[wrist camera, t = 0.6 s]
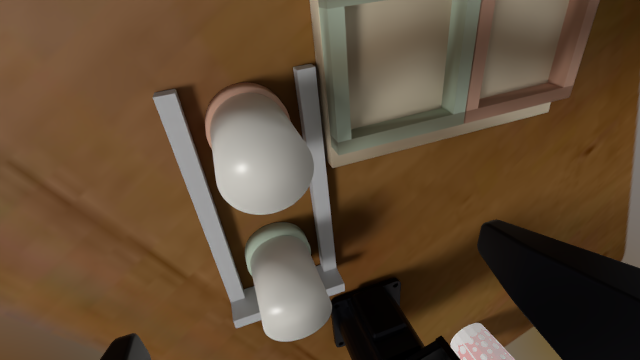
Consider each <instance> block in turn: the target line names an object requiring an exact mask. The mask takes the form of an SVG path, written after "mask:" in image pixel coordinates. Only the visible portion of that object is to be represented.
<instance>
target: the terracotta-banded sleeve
mask: <svg viewBox="0 0 640 360" xmlns="http://www.w3.org/2000/svg"><path fill="white" fill-rule="evenodd" d="M205 128H206V136H207V140H208V143H209V145H210V147H211V149H212V152H213V161H214V169H215V177H216V183H217V187H218V189H219V192H220V193H221V195H222V197H223V198H224V199H225V200H226V201H227V202H228V203H229V204H230V205H231V206H233V207H234V208H236V209H238V210H240V211H242V212H245V213H249V214H257V215H264V214H271V213H276V212H279V211H281V210H284V209H286V208H288V207H289V206H291V205H293V204H294V203H295V202H297V201H298V200H299V199H300V198H301V197H302V196H303V195H304V193H305V192H306V190H307V189H308V187H309V185H310V183H311V181H312V177H313V173H314V161H313V157H312V154H311V151H310V150H309V148H308V146H307V145H306V143H305V142H304V140H303V139H302V137H301V136H300V135H299V133H298V132H297V130H296V129H295V127H294V126H293V125H292V123H291V121H290V117H289V114H288V112H287V110H286V108H285V106H284V105H283V104H282V102H281V101H280V100H279V98H278V97H277V96H276V95H275V94H274V93H273V92H272V91H271V90H269V89H268V88H266V87H264V86H262V85H259V84H255V83H249V82H243V83H236V84H232V85H230V86H227V87H226V88H224V89H222V90H221V91H219V92H218V93H217V94H216V95H215V96H214V97H213V99H212V100H211V101H210V103H209V105H208V108H207V110H206V115H205Z"/></svg>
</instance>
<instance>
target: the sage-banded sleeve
mask: <svg viewBox="0 0 640 360" xmlns="http://www.w3.org/2000/svg"><path fill="white" fill-rule="evenodd" d="M245 258H246V263H247V268H248V271H249V273H250V274H251V275H252V276H253V281H254V286H255V291H256V296H257V300H258V305H259V310H260V315H261V320H262V324H263V329H264V332H265V333H266V335H267V336H268V337H270V338H271V339H274V340H277V341H294V340H299V339H302V338H304V337H307V336H309V335H311V334H313V333H314V332H316V331H317V330H319V329H320V328H321V327H322V326H323V325H324V324H325V323H326V322H327V320H328V319H329V317H330V315H331V312H332V303H331V301H330V298H329V296H328V294H327V292H326V289H325V287H324V285H323V282H322V280H321V278H320V275H319V273H318V271H317V269H316V266H315V264H314V262H313V259H312V257H311V248H310V245H309V243H308V241H307V238H306V236H305V234H304V232H303V231H302V230H301V229H300V228H299V227H298V226H296V225H294V224H292V223H288V222H276V223H271V224H268V225H265V226H263V227H261V228H260V229H258V230H257V231H255V232H254V233H253V234H252V235H251V237H250V238H249V239H248V241H247V243H246V246H245Z"/></svg>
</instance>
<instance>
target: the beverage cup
mask: <svg viewBox="0 0 640 360" xmlns="http://www.w3.org/2000/svg"><path fill="white" fill-rule="evenodd" d="M450 344H451V348H452V349H453V351H454V352H455V353H456V354H457V356H458V357H459V358H460V359H461V360H515V359H514V358H513V357H512V356H511V355H510V354H509V353H508V352H507V351H506V349H505V348H504V347H503V346H502V345H501V344H500V343H499V342H498V341H497V340H496V339H495V338H494V337H493V336H492V335H491V334H490V332H489V331H488V330H487V329H486V328H485V327H484V326H483V325H482V324H481V323H474V324H471V325H468V326H466V327H465V328H463V329H462V330H460V331H459V332H458V333H457V334H456V335H455V336H454V337H453V339H452V341H451V343H450Z"/></svg>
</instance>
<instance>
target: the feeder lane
mask: <svg viewBox="0 0 640 360" xmlns="http://www.w3.org/2000/svg"><path fill="white" fill-rule="evenodd" d="M293 71H294V78H295V85H296V92H297V100H298V107H299V114H300V121H301V128H302V135H303V140H304V142H305V143H306V145H307V146H308V148H309V150H310V151H311V154H312V157H313V161H314V173H313V177H312V181H311V183H310V192H311V199H312V206H313V213H314V220H315V228H316V235H317V242H318V249H319V256H320V263H321V265H318V266H316V269H317V271H318V273H319V275H320V278H321V280H322V282H323V285H324V287H325V289H326V292H327V294H328V296H331V295H334V294H337V293H340V292H343V291H345V285H344V282H343V280H342V278H341V276H340V274H339V272H338V270H337V268H336V259H335V249H334V240H333V230H332V221H331V211H330V202H329V192H328V183H327V173H326V164H325V154H324V144H323V135H322V125H321V116H320V106H319V97H318V87H317V78H316V68H315V66H313V65H312V64H306V65H301V66H296V67H293ZM153 99H154V102H155V105H156V107H157V110H158V112H159V115H160V118H161V120H162V123H163V126H164V128H165V131H166V133H167V136H168V139H169V141H170V144H171V146H172V149H173V152H174V154H175V157H176V160H177V162H178V165H179V167H180V170H181V173H182V175H183V178H184V181H185V183H186V186H187V188H188V191H189V194H190V196H191V199H192V202H193V204H194V207H195V209H196V212H197V215H198V217H199V220H200V222H201V225H202V228H203V230H204V233H205V236H206V238H207V241H208V243H209V246H210V249H211V251H212V254H213V257H214V259H215V262H216V264H217V267H218V270H219V272H220V275H221V278H222V280H223V283H224V285H225V288H226V291H227V293H228V296H229V298H230V301H231V306H232V314H233V322H234V324H235V327H236V328H239V327H242V326H245V325H248V324H251V323H254V322H256V321H259V320H261V315H260V310H259V305H258V300H257V296H256V291H255V286H253V287H250V288H247V289H243V286H242V283H241V280H240V277H239V274H238V271H237V268H236V266H235V263H234V260H233V257H232V254H231V251H230V248H229V245H228V242H227V239H226V236H225V233H224V230H223V227H222V224H221V221H220V218H219V215H218V212H217V209H216V206H215V203H214V201H213V198H212V195H211V192H210V189H209V186H208V183H207V180H206V177H205V174H204V171H203V168H202V165H201V162H200V159H199V156H198V153H197V150H196V147H195V144H194V141H193V138H192V136H191V133H190V130H189V127H188V124H187V121H186V118H185V115H184V112H183V109H182V106H181V103H180V100H179V97H178V94H177V91H176V89H172V90H167V91H161V92H156V93H154V95H153Z"/></svg>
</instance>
